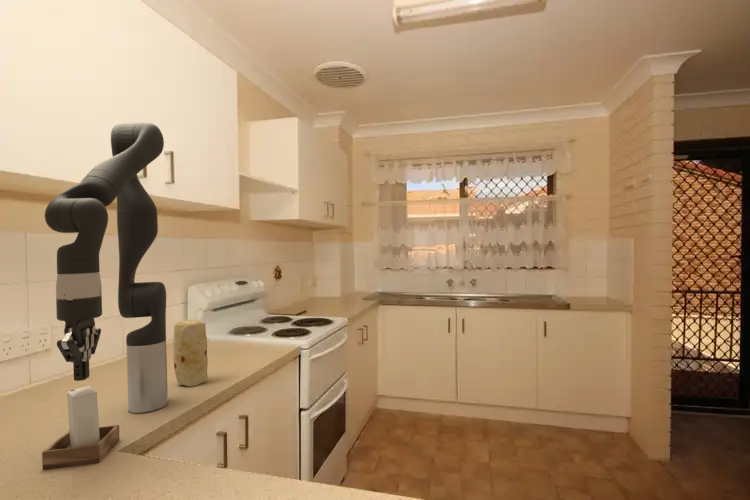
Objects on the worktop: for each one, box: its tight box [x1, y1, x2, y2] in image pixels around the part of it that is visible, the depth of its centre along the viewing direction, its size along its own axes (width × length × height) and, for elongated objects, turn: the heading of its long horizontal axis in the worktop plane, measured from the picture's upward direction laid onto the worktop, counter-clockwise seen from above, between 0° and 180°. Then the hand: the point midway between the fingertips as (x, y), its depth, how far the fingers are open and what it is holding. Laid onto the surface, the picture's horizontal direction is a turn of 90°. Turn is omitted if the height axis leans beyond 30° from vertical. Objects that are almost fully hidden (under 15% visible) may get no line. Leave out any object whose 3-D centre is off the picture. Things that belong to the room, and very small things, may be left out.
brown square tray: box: [41, 424, 120, 470], centre depth 82 cm, size 10×10×3 cm
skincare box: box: [66, 385, 100, 448], centre depth 82 cm, size 6×4×12 cm
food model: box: [172, 319, 209, 388], centre depth 123 cm, size 10×7×20 cm
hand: (81, 379), depth 81 cm, fingers closed
